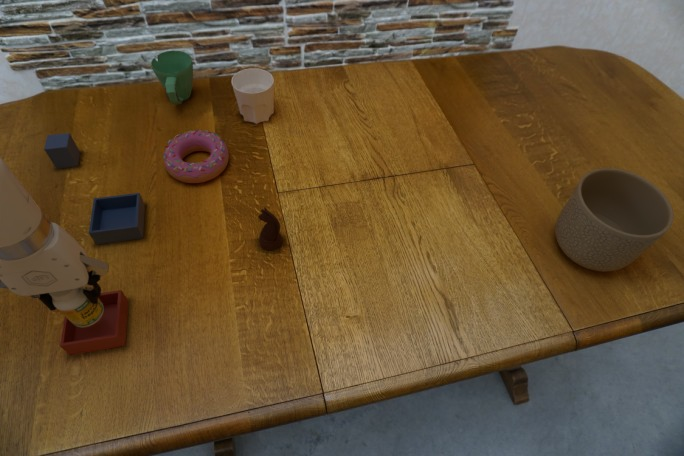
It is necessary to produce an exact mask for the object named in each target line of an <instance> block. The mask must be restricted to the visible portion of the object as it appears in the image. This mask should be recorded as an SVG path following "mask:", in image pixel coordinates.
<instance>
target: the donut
mask: <svg viewBox="0 0 684 456" xmlns="http://www.w3.org/2000/svg"><path fill="white" fill-rule="evenodd" d="M196 152H206V153H209V154H210V155H209V156H208V157H207V158H206V159H204V160H202V161H200V162H199V161H197V162H186V161H184V158H185V157H187V156H188V155H190V154H191V153H196ZM162 156H163V163H164V168H165V169H166V171H167V172H168V174H169V175H170V176H171V177H172V178H174V179H175V180H177V181H179V182H182V183H187V184H200V183H205V182H208V181H211V180H213V179H215V178H217V177H218V176H219V175H221V174H222V173H223V172H224V171H225V170H226V168H227V166H228V163H229V160H230V155H229V149H228V146H227V144H226V143H225V141H224V139H223V138H221V137H220V135H219V134H218V133H216V132H212V131H210V130H207V129H206V130H205V129H200V130H199V129H196V130H195V129H194V130H193V129H192V130H189V131H185V132H183V133H180V134H179V133H178V134H177V135H175V136H174V137H173V138H170V139H168V142H167V144H166V145H165V146H164V152H163V154H162Z"/></svg>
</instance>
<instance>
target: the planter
mask: <svg viewBox="0 0 684 456" xmlns="http://www.w3.org/2000/svg"><path fill="white" fill-rule="evenodd" d="M674 214H675V213H674V209H673V206H672V204H671V202H670V200H669V199H668V197H667V196H666V194H665V193H664V192H663V191H662V190H661V189H660V188H659V187H657V186H656V185H655V184H654V183H653V182H651V181H650V180H648V179H646V178H644V177H643V176H641V175H639V174H638V173H637V174H636V173H635V172H632V171H629V170H626V169H623V168H622V169H621V168H615V167H601V168H595V169H592V170H589V171H588V172H586V173H585V174H584V175H583V176H582V177H581V179H580V180H579V181H578V183H577V184H576V186H575V187H574V189H573V190H572V192H571V194H570V195H569V197H568V199H567V200H566V203H565V204H564V206H563V207H562V209H561V211H560V213H559V214H558V217H557V219H556V223H555V227H554V233H555V240H556V241H557V244H558V246H559V248H560V249H561V251H562V252H563V254H564V255H565V256H566V257H567V258H568V259H570V261H572V262H573V263H575V264H577V265H578V266H580V267H583V268H585V269H588V270H591V271H595V272H604V273H605V272H613V271H619V270H622V269H623V268H625V267H627V266H629V265H630V264H632V263H633V262H635V260H637V259H638V258H639V257H640V256H641V255H643V254H644V253H645V252H646V251H648V249H650V248H651V247H652V246H653V245H654V244H655V243H656V242H657V241H658V240H660V239H661V238H662V237H663V236H664V235H665V234H666V233H667V232H668V231H669V230H670V229H671V227H672V225H673V223H674V218H675V217H674Z"/></svg>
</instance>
